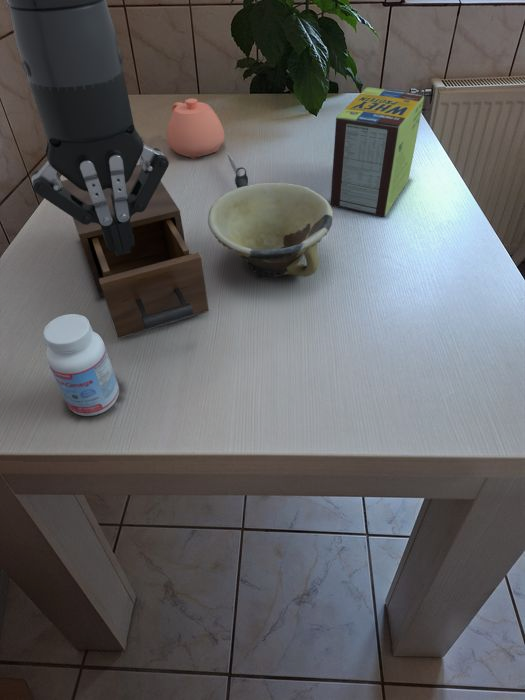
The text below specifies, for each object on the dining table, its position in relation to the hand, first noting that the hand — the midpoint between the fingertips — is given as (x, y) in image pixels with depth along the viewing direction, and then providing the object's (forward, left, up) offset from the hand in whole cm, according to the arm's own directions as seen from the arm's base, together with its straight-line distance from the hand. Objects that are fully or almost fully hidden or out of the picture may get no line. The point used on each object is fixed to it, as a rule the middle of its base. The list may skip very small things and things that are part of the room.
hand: (121, 250), depth 52 cm
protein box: (+48, +24, -16) cm, 56 cm away
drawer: (+3, +9, -15) cm, 18 cm away
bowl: (+22, +11, -16) cm, 30 cm away
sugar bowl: (+25, +58, -16) cm, 65 cm away
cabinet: (+3, +23, -16) cm, 28 cm away
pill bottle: (-8, -4, -16) cm, 18 cm away
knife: (+27, +37, -16) cm, 49 cm away
